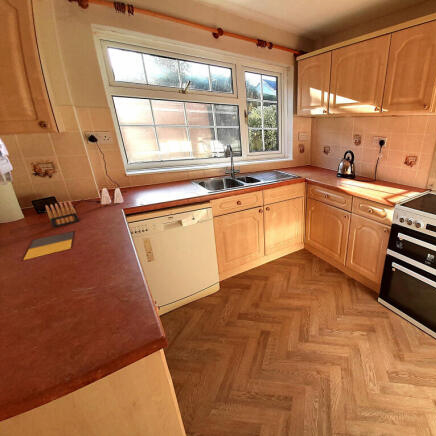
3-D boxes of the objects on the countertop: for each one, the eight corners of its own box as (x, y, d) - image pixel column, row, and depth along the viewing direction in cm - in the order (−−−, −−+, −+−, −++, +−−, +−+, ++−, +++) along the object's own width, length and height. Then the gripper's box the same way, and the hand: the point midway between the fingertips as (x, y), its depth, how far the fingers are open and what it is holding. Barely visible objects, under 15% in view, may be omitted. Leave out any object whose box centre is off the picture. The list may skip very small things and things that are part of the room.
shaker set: (102, 206, 155) (96, 190, 151) (102, 205, 158) (96, 188, 154) (124, 202, 162) (119, 186, 157) (123, 201, 165) (118, 185, 160)
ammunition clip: (78, 220, 133) (70, 199, 129) (79, 221, 132) (71, 200, 128) (53, 227, 126) (43, 205, 121) (53, 228, 125) (43, 206, 120)
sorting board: (24, 262, 93) (22, 259, 93) (34, 242, 110) (33, 239, 109) (71, 250, 101) (70, 248, 101) (74, 233, 118) (73, 231, 117)
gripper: (-11, 151, 113) (3, 180, 118) (-27, 154, 97) (-10, 188, 103) (9, 149, 116) (22, 178, 121) (-4, 153, 101) (11, 185, 106)
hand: (7, 183), depth 112 cm, fingers open, 8 cm apart
